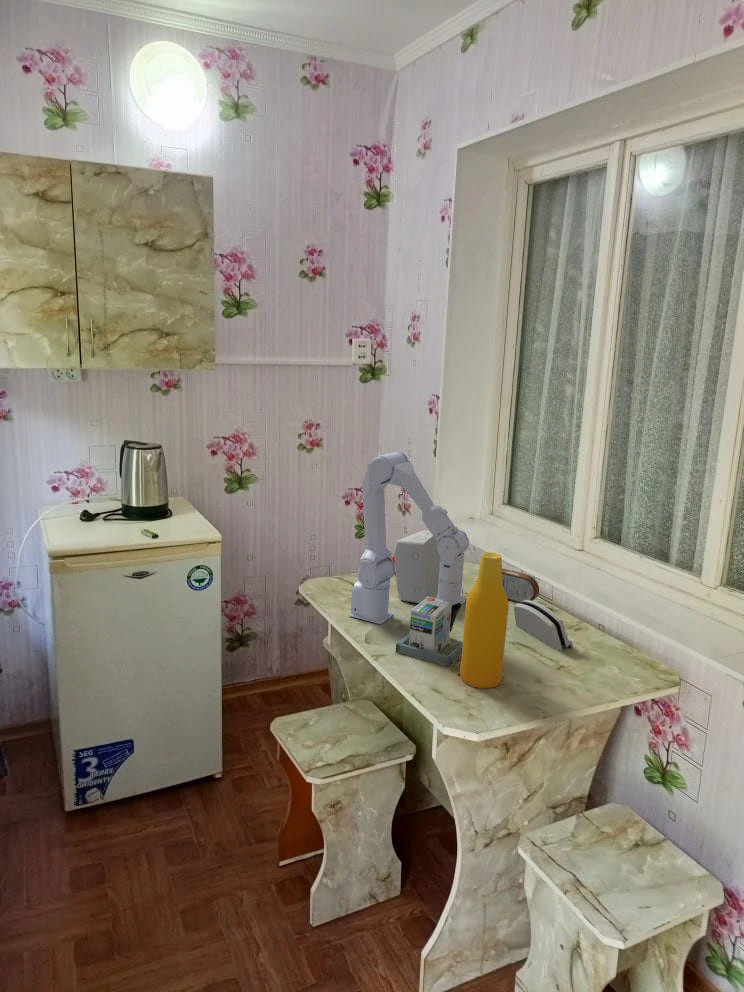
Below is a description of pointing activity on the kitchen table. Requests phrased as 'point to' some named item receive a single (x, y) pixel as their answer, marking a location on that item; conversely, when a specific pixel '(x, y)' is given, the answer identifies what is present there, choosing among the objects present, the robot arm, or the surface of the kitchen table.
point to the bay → (428, 652)
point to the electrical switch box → (417, 567)
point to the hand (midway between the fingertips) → (446, 631)
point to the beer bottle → (485, 626)
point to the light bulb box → (430, 625)
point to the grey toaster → (541, 624)
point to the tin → (519, 586)
